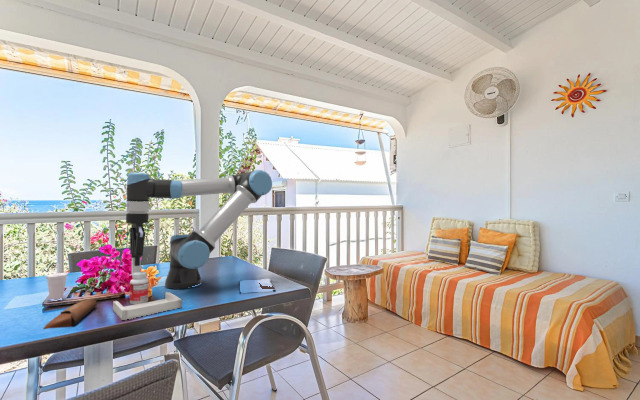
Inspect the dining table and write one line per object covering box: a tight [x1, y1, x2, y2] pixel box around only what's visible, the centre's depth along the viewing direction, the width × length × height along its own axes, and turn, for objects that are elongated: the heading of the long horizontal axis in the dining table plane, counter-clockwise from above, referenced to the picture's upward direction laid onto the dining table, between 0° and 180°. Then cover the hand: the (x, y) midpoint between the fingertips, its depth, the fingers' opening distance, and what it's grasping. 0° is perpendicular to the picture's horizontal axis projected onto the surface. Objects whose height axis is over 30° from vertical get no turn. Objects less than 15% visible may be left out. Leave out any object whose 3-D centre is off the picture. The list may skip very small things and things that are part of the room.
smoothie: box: [45, 262, 69, 300], centre depth 120 cm, size 6×6×14 cm
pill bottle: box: [129, 271, 150, 305], centre depth 119 cm, size 6×6×11 cm
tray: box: [112, 291, 183, 321], centre depth 112 cm, size 18×13×3 cm
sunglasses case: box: [43, 298, 98, 330], centre depth 103 cm, size 18×7×7 cm
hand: (135, 273), depth 122 cm, fingers closed
